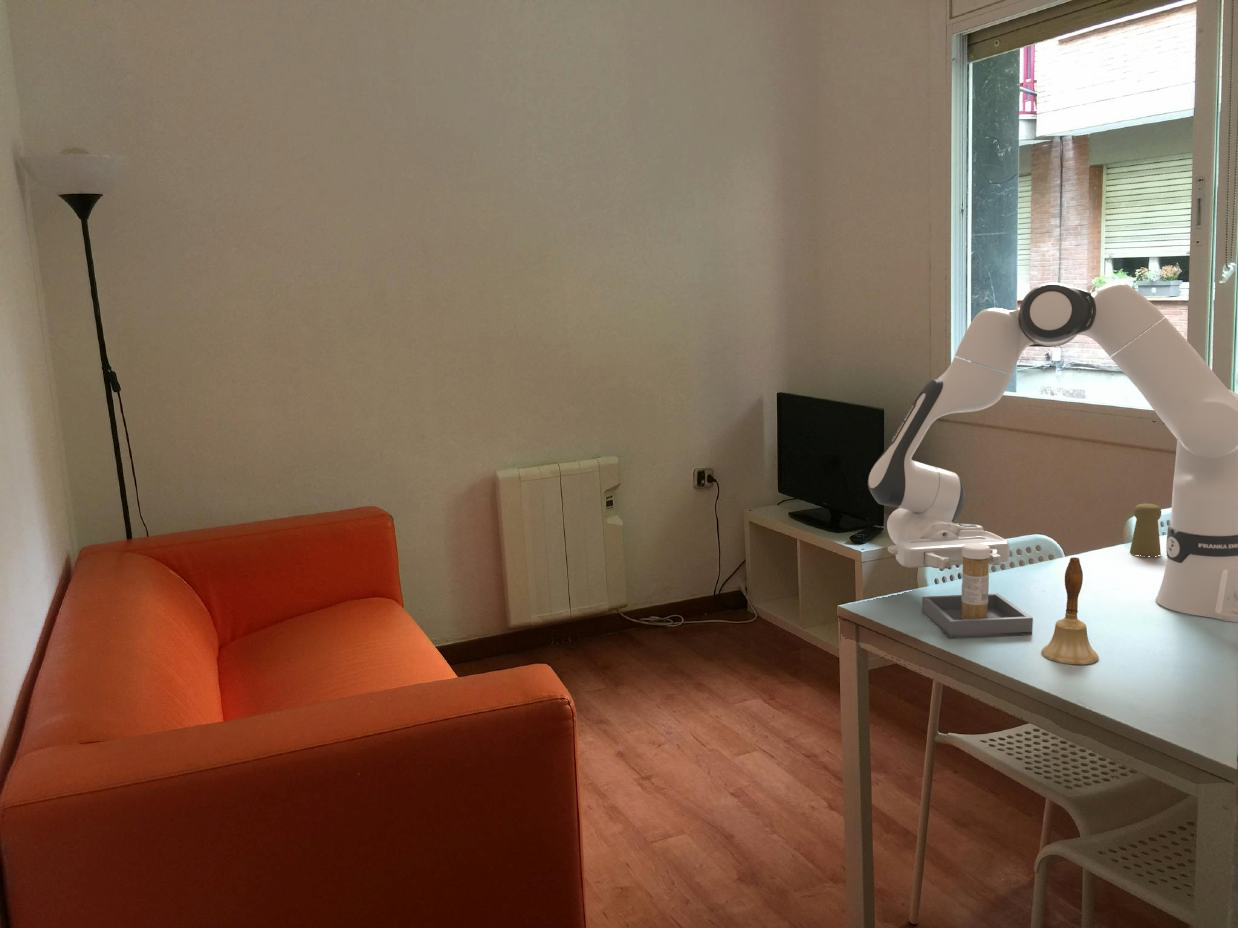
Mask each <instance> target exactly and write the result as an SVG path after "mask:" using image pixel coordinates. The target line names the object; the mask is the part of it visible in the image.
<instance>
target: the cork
mask: <svg viewBox="0 0 1238 928" xmlns="http://www.w3.org/2000/svg"><path fill="white" fill-rule="evenodd" d="M1133 515H1134V518H1135V519H1136V520H1135V523H1134V524H1135V525H1134V531H1133V535H1132V539H1131V544H1130V549H1129V554H1130V553H1131V554H1134V555H1139V556H1140V555H1141V556H1145V557H1144V558H1146V557H1148V556H1150V557H1155V556H1158V555H1161V556H1162V554H1161V553H1162V552H1161V542H1160V541H1161V540H1160V530H1159V520H1160V519H1161V517H1162V509H1161V507H1160V506H1159V505H1157V504H1155V503H1154V504H1153V503H1139V504H1137V505H1136V506H1135V507H1134V510H1133ZM1131 554H1130V555H1131ZM1134 555H1133V556H1134ZM1155 558H1156V557H1155Z"/></svg>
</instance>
